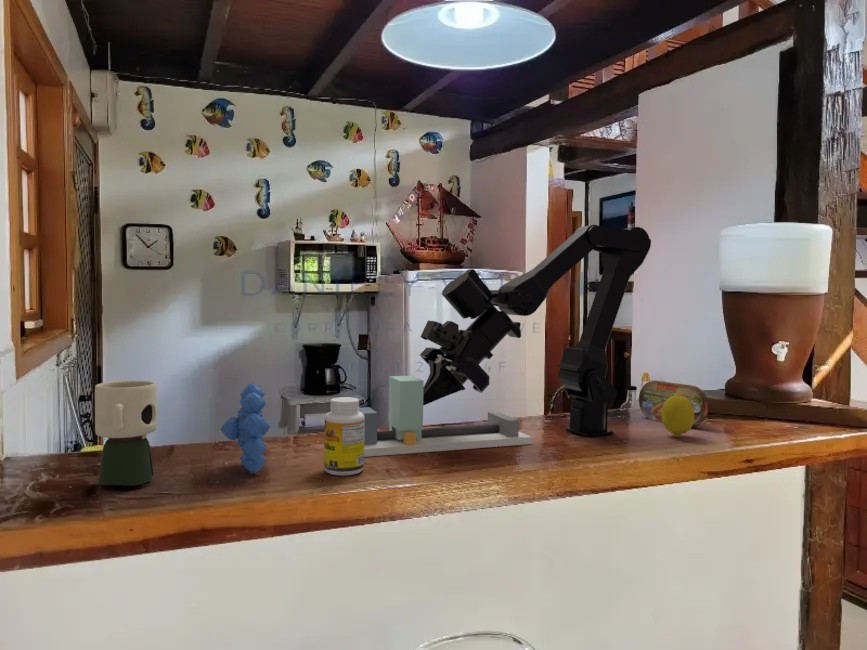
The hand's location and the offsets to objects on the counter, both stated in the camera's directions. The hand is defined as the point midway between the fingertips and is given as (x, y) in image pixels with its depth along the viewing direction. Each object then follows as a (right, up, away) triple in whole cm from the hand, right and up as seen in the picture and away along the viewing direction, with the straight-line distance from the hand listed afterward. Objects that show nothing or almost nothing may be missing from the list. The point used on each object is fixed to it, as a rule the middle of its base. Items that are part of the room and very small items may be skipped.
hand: (418, 404), depth 103 cm
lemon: (+47, -7, +10) cm, 48 cm away
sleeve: (-2, -5, -1) cm, 6 cm away
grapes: (-24, -7, -16) cm, 30 cm away
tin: (+51, -7, +22) cm, 56 cm away
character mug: (-37, -7, -23) cm, 44 cm away
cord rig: (+3, -7, +2) cm, 8 cm away
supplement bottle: (-10, -8, -16) cm, 20 cm away
